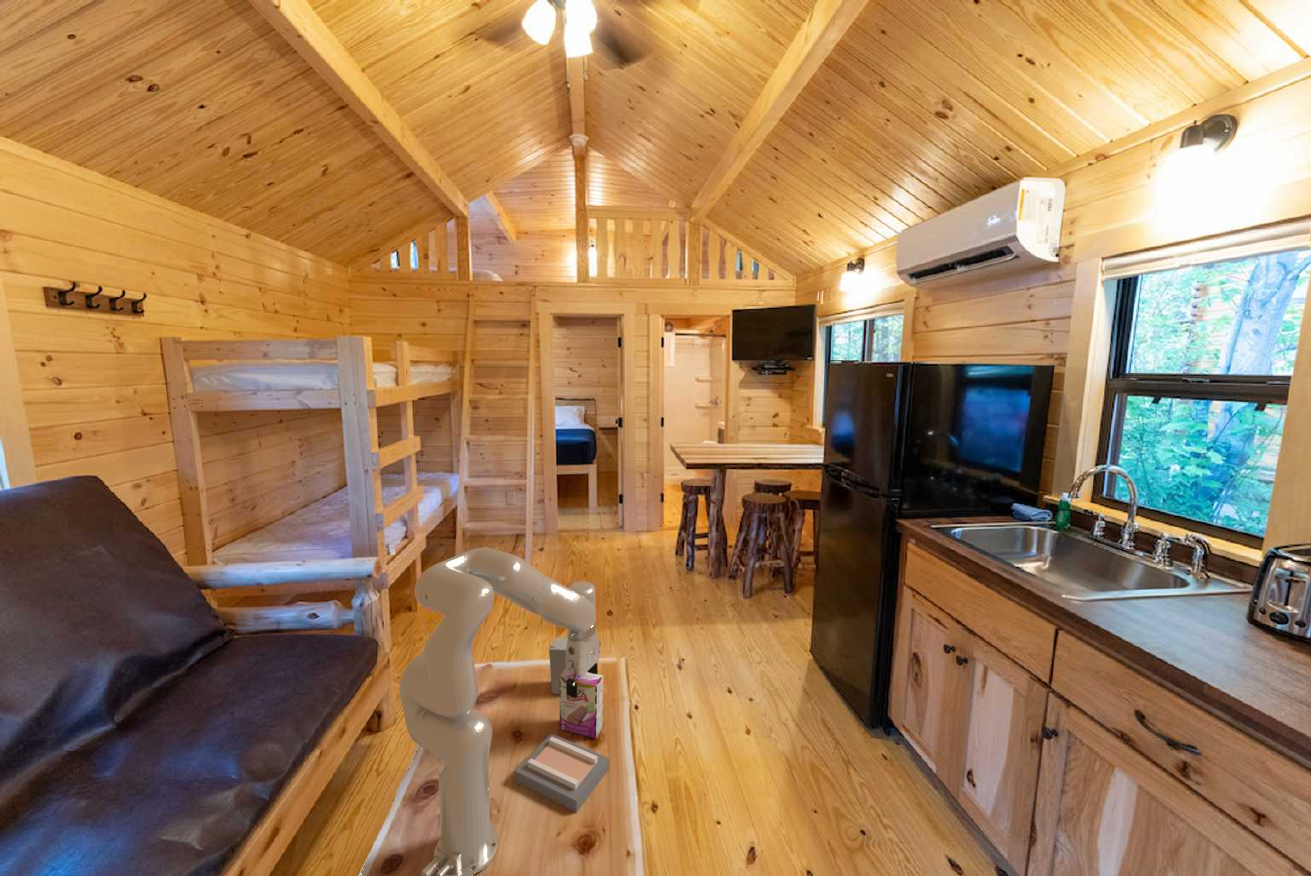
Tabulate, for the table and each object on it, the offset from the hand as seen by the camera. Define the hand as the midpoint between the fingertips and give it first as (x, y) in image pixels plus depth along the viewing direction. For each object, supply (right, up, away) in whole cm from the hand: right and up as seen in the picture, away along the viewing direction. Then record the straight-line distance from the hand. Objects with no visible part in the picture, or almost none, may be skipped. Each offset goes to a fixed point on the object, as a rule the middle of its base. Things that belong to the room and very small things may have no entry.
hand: (582, 685), depth 139 cm
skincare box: (-8, -10, +18) cm, 22 cm away
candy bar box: (-1, -13, +2) cm, 13 cm away
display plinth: (-3, -15, -14) cm, 21 cm away
